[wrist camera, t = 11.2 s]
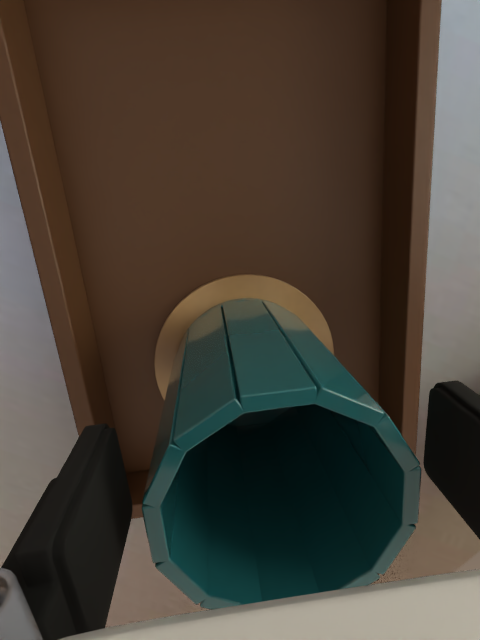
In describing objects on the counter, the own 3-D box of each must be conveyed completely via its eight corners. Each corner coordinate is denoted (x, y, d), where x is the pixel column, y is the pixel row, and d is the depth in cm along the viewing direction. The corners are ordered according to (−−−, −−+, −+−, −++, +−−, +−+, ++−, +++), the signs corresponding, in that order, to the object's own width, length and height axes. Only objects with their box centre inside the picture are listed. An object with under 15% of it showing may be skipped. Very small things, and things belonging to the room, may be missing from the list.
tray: (-3, -46, 14) (-61, -119, 11) (400, -65, 15) (450, -137, 12) (115, 479, 20) (99, 524, 17) (385, 442, 21) (415, 478, 18)
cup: (166, 306, 17) (121, 411, 8) (311, 290, 17) (428, 372, 8) (185, 434, 19) (167, 638, 10) (315, 417, 19) (414, 597, 10)
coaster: (141, 284, 17) (140, 285, 17) (330, 264, 17) (332, 265, 17) (169, 450, 19) (168, 453, 19) (333, 428, 20) (335, 431, 20)
